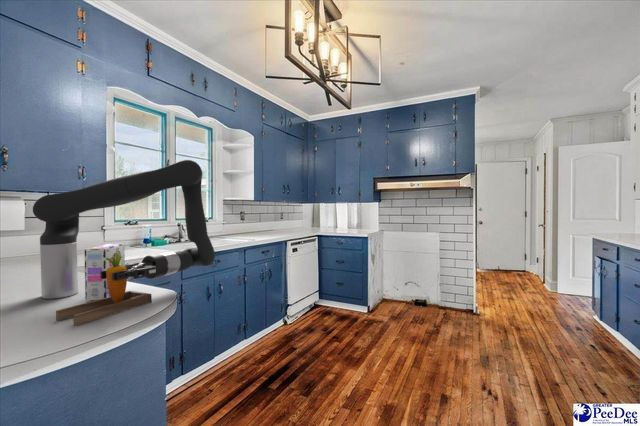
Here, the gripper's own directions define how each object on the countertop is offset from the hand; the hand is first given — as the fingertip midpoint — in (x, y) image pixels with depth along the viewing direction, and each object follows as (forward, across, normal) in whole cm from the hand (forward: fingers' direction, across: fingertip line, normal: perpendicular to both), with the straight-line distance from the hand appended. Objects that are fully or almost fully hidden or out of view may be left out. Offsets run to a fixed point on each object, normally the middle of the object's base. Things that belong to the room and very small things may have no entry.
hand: (107, 276), depth 86 cm
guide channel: (0, 0, +10) cm, 10 cm away
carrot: (-3, 0, +9) cm, 10 cm away
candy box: (-9, -16, +10) cm, 21 cm away
